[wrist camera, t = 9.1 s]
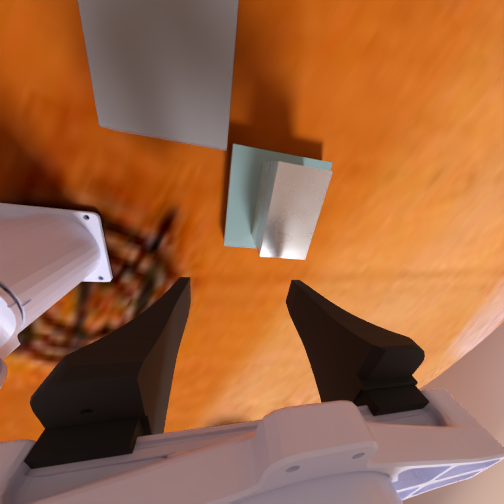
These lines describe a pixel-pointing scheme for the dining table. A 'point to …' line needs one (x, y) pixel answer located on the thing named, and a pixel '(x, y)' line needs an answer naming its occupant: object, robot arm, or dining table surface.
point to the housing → (288, 208)
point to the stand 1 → (162, 67)
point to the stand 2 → (251, 189)
